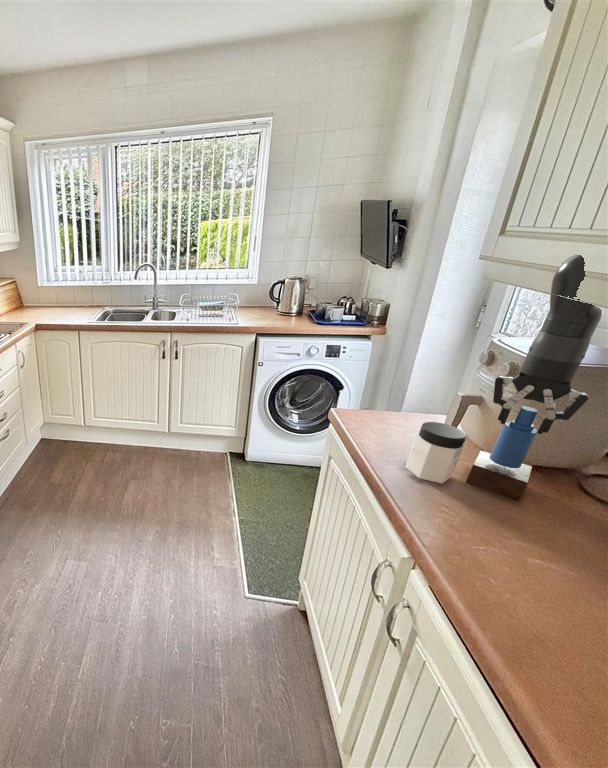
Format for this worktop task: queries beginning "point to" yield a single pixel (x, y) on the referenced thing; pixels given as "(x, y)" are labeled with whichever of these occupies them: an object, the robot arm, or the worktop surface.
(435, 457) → the jar
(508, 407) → the robot arm
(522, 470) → the block
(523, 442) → the bottle
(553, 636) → the worktop surface
